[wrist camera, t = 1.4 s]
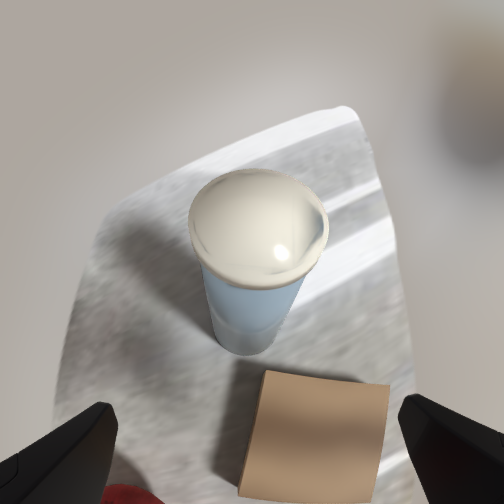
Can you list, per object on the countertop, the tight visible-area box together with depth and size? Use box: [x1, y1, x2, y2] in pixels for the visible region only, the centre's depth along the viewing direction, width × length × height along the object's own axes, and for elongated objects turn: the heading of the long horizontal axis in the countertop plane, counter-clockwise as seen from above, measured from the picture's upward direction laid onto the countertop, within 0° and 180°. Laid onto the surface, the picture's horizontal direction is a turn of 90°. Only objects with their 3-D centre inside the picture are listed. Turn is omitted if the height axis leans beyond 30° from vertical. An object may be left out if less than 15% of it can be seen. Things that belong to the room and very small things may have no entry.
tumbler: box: [188, 169, 329, 356], centre depth 17 cm, size 5×5×13 cm
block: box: [238, 370, 390, 504], centre depth 16 cm, size 9×9×2 cm
